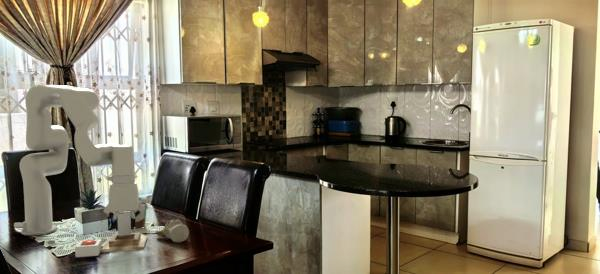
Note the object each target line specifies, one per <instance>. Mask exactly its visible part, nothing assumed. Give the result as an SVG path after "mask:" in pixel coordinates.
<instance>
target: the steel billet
mask: <svg viewBox="0 0 600 274" xmlns="http://www.w3.org/2000/svg"><path fill="white" fill-rule="evenodd" d="M131 217H132V216H131V212H130V211H127V212H118V214H117V219H118V231H117V234H118V236H124V235H131V234H132V233H133V230H132V229H131Z"/></svg>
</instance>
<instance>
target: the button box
mask: <svg viewBox="0 0 600 274" xmlns="http://www.w3.org/2000/svg"><path fill="white" fill-rule="evenodd" d="M94 240H95V245H83V246H82V242H83V241H84V240H80V241H79V242H78V243H77V244H76V245H75V247H74V249H75V250H74V251H75V252H74V253H75V258H81V257H82V258H85V257H96V256H99V255H100V254H101V249H102V247H103V246H102V239H94Z"/></svg>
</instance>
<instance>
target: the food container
mask: <svg viewBox="0 0 600 274" xmlns="http://www.w3.org/2000/svg"><path fill="white" fill-rule="evenodd" d="M139 201H140V200H139ZM140 202H141V203H142V204H143V206H144V207H145V210H144V211H142V212H141V213H140V214H139V215H138V216H137V217H136V218H135V220H136V226H135V227H145V228H146V221H147V220H146V217H147V210H148V209H149V206H148V203H147V202H146V201H142V200H141V201H140ZM139 209H140V207H139V208H138V209H137V210H139ZM137 210H136V211H137ZM136 211H135V212H136Z"/></svg>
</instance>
